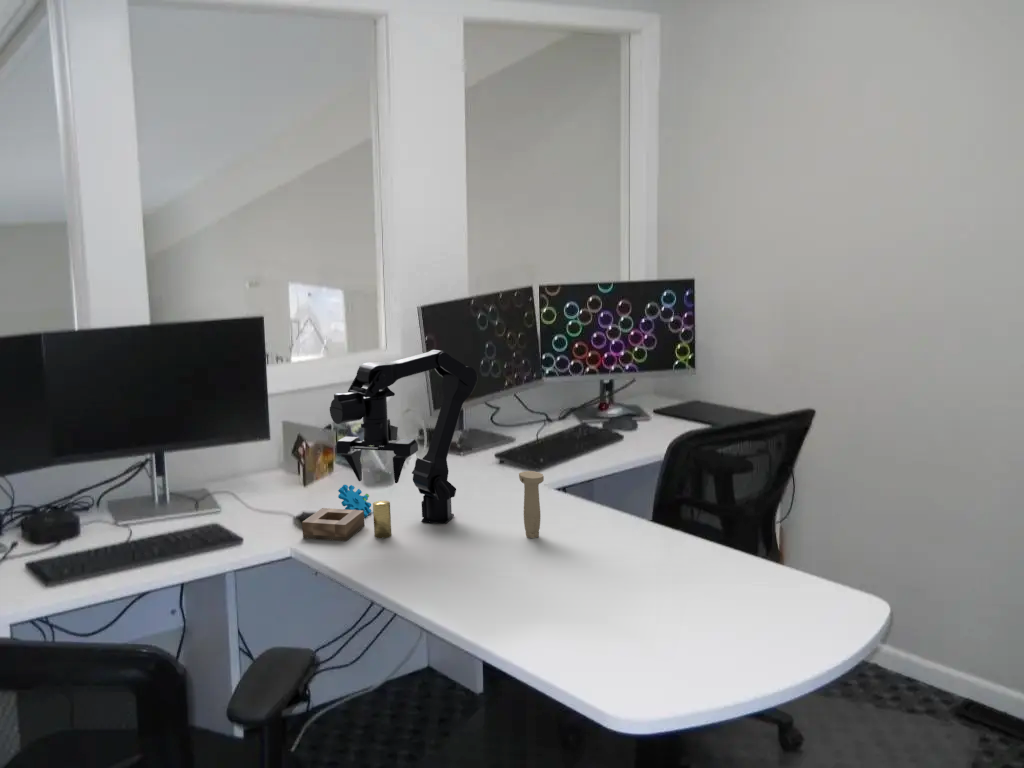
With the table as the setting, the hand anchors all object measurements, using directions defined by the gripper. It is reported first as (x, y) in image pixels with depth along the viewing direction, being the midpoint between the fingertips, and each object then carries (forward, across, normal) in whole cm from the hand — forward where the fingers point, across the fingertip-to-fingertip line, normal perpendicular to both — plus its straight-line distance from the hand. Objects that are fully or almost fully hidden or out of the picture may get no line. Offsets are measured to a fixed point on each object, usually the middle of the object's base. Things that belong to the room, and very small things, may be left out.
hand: (378, 481), depth 235 cm
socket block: (+13, +12, +1) cm, 18 cm away
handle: (+13, -36, -6) cm, 39 cm away
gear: (+13, +12, -13) cm, 22 cm away
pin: (+13, -1, +1) cm, 13 cm away
